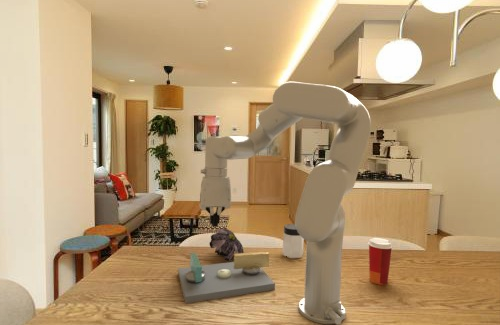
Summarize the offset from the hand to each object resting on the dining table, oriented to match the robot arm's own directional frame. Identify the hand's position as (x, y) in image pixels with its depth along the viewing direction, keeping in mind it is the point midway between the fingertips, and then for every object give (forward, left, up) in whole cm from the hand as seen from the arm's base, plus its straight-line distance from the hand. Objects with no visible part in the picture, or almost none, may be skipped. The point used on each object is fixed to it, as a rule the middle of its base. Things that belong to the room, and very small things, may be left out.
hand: (214, 225), depth 101 cm
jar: (+10, -36, -18) cm, 41 cm away
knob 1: (-5, +7, -16) cm, 18 cm away
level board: (-5, -2, -18) cm, 19 cm away
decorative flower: (+16, -9, -18) cm, 26 cm away
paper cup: (-20, -53, -18) cm, 59 cm away
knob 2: (-5, -12, -16) cm, 20 cm away
